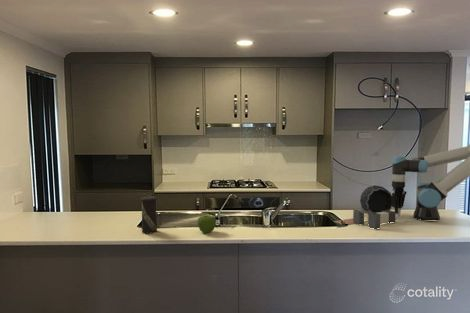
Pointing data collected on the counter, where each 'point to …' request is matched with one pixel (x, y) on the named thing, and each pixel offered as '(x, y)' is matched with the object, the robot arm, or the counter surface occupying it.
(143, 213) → the container
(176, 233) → the counter surface
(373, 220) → the housing
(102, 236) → the counter surface
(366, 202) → the dark grey thick wheel
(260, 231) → the counter surface
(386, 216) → the plug
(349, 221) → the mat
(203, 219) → the apple
